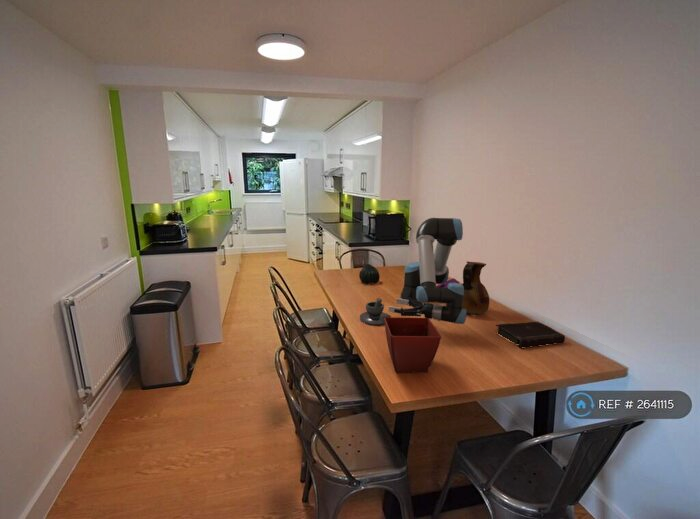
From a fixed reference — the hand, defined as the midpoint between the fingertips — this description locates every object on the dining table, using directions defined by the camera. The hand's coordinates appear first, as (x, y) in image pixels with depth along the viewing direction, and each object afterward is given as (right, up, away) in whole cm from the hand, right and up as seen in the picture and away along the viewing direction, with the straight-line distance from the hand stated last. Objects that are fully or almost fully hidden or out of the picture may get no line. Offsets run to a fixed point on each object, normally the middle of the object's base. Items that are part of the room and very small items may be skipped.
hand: (392, 304), depth 180 cm
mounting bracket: (+43, 0, +55) cm, 69 cm away
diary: (+64, -15, -13) cm, 67 cm away
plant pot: (+1, -19, -40) cm, 45 cm away
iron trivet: (-9, -9, +6) cm, 14 cm away
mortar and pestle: (-9, -8, +5) cm, 13 cm away
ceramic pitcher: (+48, -7, +20) cm, 52 cm away
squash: (-8, +6, +75) cm, 76 cm away
